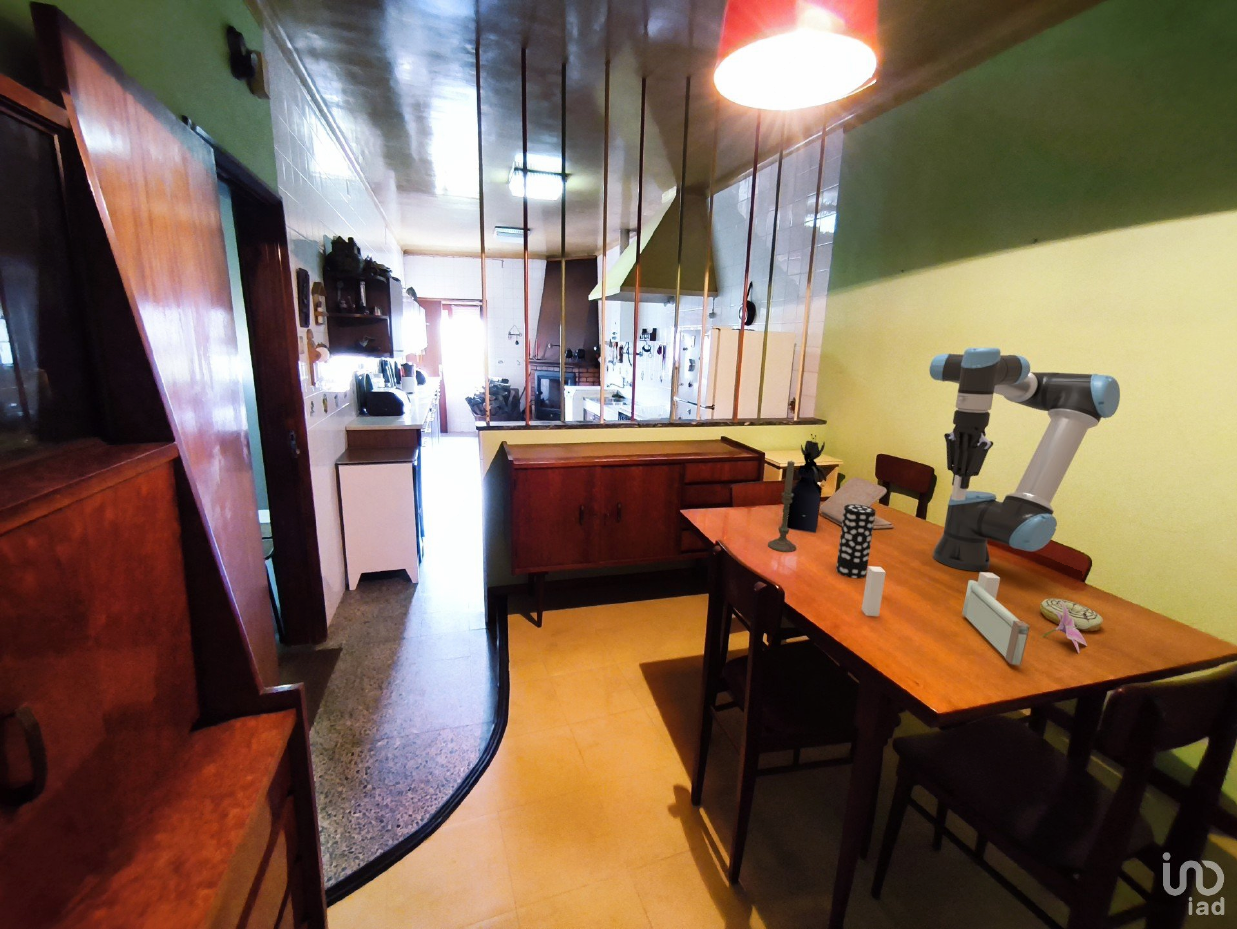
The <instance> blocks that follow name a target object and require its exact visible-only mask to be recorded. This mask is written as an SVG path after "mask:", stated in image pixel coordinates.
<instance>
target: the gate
mask: <svg viewBox="0 0 1237 929" xmlns="http://www.w3.org/2000/svg"><path fill="white" fill-rule="evenodd" d="M966 588H967V589H966V594H965V598H964V602H963V609H962V613H961V615H962V616H964V617H965V618H966V619H967V620H968V621H969V622H970V623H971V625H973V626H974V627H975V628H976V629H977V630H978V631H979V632H980V633H981V635H982V636H984V637H985V638H986V640H987V641H988V642H990V644H992V646H993V647H994V648H995V649H996V650H998V652H1000V654H1002V656H1004V659H1005V660H1006V661H1007V663H1009V664H1010V665H1015V666H1022V662H1023V657H1024V653H1025V649H1026V645H1027V640H1028V636H1029V632H1030V628H1031V627H1030V625H1029V624H1027V623H1026V621H1023V620H1022V621H1021V620H1020V619H1019V618H1017V616H1016V615H1014V614H1013V613H1012V612H1011V611H1010V610H1009V609H1007V607H1005V606H1004V605H1003V604H1001V602H999V601H998V600H995V599H994V598H993V597H992V596H991V595H990V594H988V593H987V592H986V591H985V590H984V589H983V588H981V587H980V586H979V585H978V580H977V581H976V580H974V579H969V580H968V582H967V587H966Z"/></svg>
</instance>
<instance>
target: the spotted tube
mask: <svg viewBox="0 0 1237 929" xmlns="http://www.w3.org/2000/svg"><path fill="white" fill-rule="evenodd" d="M876 512H877V510H876V509H875V508H873V507H872V506H871V507H868V506H863V505H856V504H849V505H845V506H844V514H843V521H842V526H841V530H840V537H839V538H840V539H839V544H838V553H837V561H836V567H835V570H836V573H838V574H840V575H841V576H844V577H847V578H853V579H863V578H865V577H866V578H867V571H868V566H869V558H870V553H871V547H872V546H871V545H872V540H873V539H872V538H873V532H874V529H873V526H874V519H875V516H876Z"/></svg>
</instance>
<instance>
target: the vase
mask: <svg viewBox="0 0 1237 929" xmlns="http://www.w3.org/2000/svg"><path fill="white" fill-rule="evenodd" d="M810 436H812V440H805V444H804V447H803V445H802V444H800V450H801V453H802V456H803V459H804V465H802V464H801V465H800V466H799V468H798V473H797V477H798V476H800V479H799V480H798V481H796V482H795V483H793V484H792V491H791V493H792V494H794V496H793V497H792V503H790V504H789V513H788V518H787V528H789V530H794V531H800V532H807V533H814V534H816V532H817V528H818V524H819V514H820V506H821V501H822V499H821V498H822V491H823V488H822V486H821V485H820V484H819V478H820V477H819V472H820V474H821V476H822V479H823V481H824V482H827V474H826V471H825V470H824V469H823V468H822V467H821V466H819V465H818V464H817V462H816V461H815V460H816V459H818V458H819V457H820V456H822V454H823V452H824V450H825V447H826V444H825V443H826V442H825V441H823V443H822V445H821V447H819V442H818V441H817V440H815V438H817V435H814V436H813V434H812V433H810ZM813 440H814V441H813Z"/></svg>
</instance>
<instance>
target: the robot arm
mask: <svg viewBox="0 0 1237 929" xmlns="http://www.w3.org/2000/svg"><path fill="white" fill-rule="evenodd" d="M1001 353H1002V352H1001V350H1000V348H998V347H968V348H966V349H965V350H964V353H963V354H961V353H959V354H957V353H942V354H937V355H935V356H934V357H933V359H932V360H931V362H930V364H929V369H928V370H929V376H930V377H931V379H933V380H934V381H940V382H950V383H955V384H958V389H957V394H956V402H955V406H954V407H955V408H956V410H954V414H953V419H952V424H953V425H954V427H953V429H952V431H951V432H947V433H944V434H943V437H944V440H945V442H946V443H945V444H946V445H945V446H946V467H947V468H946V469H947V470H948V471H951V473H952V474H953V476H952V481H951V482H952V483H951V486H952V493H951V494H950V496H949V500H948V503H947V509H946V516H945V522H944V527H943V534H942V535H941V538H940V539H939V541H938V542H937V544H936V546H935V547H934V549H933V553H932V558H933V559H934V560H935V561H936V562H938V563H940V564H943V565H945V566H947V567H951V568H953V569H957V570H962V571H968V572H984V571H987V570H989V568H990V564H991V563H990V562H991V559H990V555H989V548H988V540H991V541H994V542H997V543H1000V544H1003V545H1006V546H1010V547H1011V548H1013V549H1016V550H1017V549H1018V550H1022V551H1026V552H1037V551H1038V550H1040V549H1043V548H1044V547H1045V546H1046V545H1048V544H1049V542H1051V540H1052V538H1054V537H1053V536H1054V535H1055V533H1056V531H1057V528H1056V527H1057V525H1058V521H1057V519H1056V517H1055V516H1054V515H1053V514H1054V512H1055V510H1054V509H1053V507H1052V505H1051V503H1052V500H1053V499H1054V497H1055V495H1056V493H1057V491H1058V489H1059V488H1060V485H1061V483H1062V482H1063V480H1064V477H1065V476H1066V473H1067V471H1068V470H1069V467H1070V465H1071V463H1072V461H1073V459H1074V458H1075V456H1076V454H1077V452H1078V450H1079V448H1080V446H1081V444H1082V442H1083V439H1084V438H1085V436H1086V434H1087V432H1088V430H1089V429H1092V428H1094V427H1097V426H1098V425H1099V423H1100V421H1101V419H1107V418H1111V417H1113V415H1115V414H1116V412H1117V411H1118V407H1119V405H1120V400H1121V390H1120V384H1119V382H1118V381H1117V379H1116V378H1115V377H1114V376H1111V375H1104V374H1097V373H1092V374H1091V373H1071V372H1067V373H1066V372H1056V371H1055V372H1054V371H1053V372H1052V371H1051V372H1045V371H1044V372H1043V371H1042V372H1035V371H1032V372H1031V363H1030V361H1029V360H1028V359H1027V358H1025V357H1024V356H1022V355H1017V354H1007V355H1004V354H1002V355H1001ZM994 394H997V395H1000V396H1003V398H1004V399H1006V400H1007V401H1010V402H1012V403H1015V404H1018V405H1021V406H1025V407H1028V408H1032V409H1034V410H1039V411H1042V412H1043V411H1044V412H1047V415H1048V417H1049V419H1050V421H1049V423H1048V425H1047V427H1046V429H1045V431H1044V433H1043V435H1042V436H1041V440H1040V441H1039V442H1038V445H1037V447H1036V449H1035V451H1034V453H1033V455H1032V457H1031V459H1030V461H1029V463H1028V465H1027V467H1026V469H1025V470H1024V473H1023V475H1022V477H1021V478H1020V481H1019V483H1018V485H1017V486H1016V489H1015V491H1014V492H1012V493H1009V494H1006V495H1005V497H1004V499H1003V501H998V500H997V496H996V494H995V493H991V492H986V491H978V490H968V489H969V486H970V481H971V478H972V477H978V476H979V475H980V472H981V470H982V467H983V465H984V462H985V460H986V457H987V455H988V452H989V450H990V449H991V448H992V447H993V446H994V441H993V440H990V441H989V440H988V439H987V437H986V428H987V427H989V424H990V417H991V412H989V411H990V410H992V406H993V401H994V400H993V399H994Z"/></svg>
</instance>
